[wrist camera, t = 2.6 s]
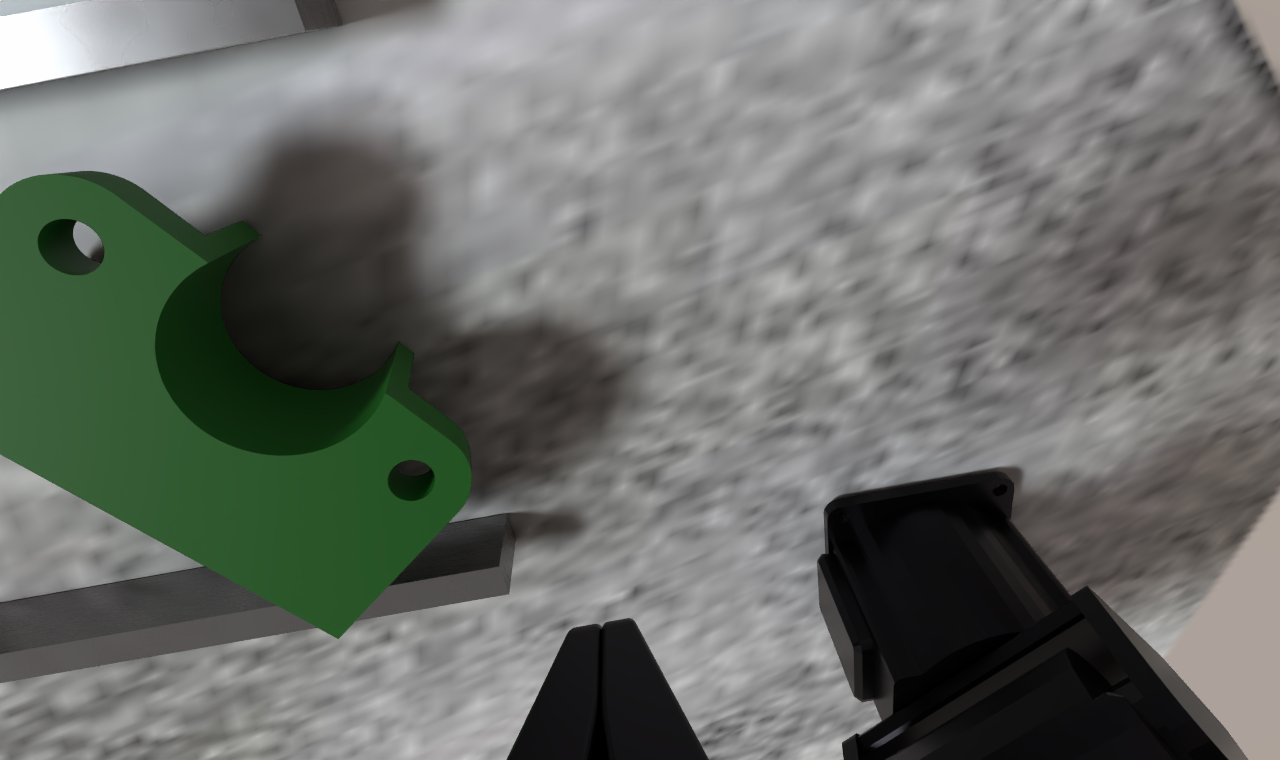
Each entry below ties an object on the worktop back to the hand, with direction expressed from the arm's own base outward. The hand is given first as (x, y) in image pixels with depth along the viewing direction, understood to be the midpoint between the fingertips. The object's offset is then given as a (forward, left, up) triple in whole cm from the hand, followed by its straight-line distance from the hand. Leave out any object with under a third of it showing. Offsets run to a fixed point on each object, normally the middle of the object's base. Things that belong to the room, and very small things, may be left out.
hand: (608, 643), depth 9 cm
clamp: (+9, 0, -13) cm, 16 cm away
